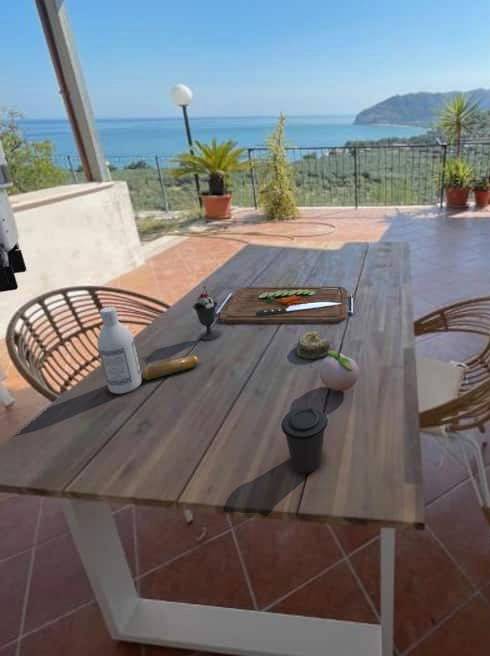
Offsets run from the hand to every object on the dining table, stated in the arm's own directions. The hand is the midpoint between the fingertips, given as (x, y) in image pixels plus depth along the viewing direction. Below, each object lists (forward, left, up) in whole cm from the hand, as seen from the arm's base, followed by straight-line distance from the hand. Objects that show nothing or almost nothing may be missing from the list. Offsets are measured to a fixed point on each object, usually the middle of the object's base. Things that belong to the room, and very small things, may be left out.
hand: (10, 281), depth 66 cm
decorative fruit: (+54, -16, -33) cm, 65 cm away
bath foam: (+12, +12, -33) cm, 37 cm away
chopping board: (+62, +34, -33) cm, 78 cm away
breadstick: (+22, +12, -33) cm, 41 cm away
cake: (+57, +3, -33) cm, 66 cm away
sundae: (+34, +26, -33) cm, 54 cm away
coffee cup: (+39, -31, -33) cm, 60 cm away
